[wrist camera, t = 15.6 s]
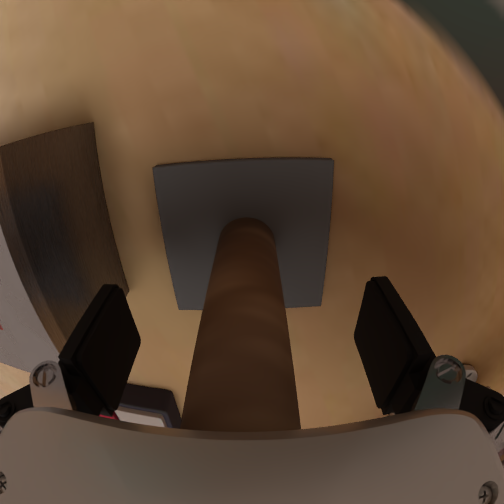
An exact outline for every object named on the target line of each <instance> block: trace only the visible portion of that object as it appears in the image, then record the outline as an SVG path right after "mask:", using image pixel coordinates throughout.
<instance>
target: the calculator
mask: <svg viewBox="0 0 504 504" xmlns="http://www.w3.org/2000/svg"><path fill="white" fill-rule="evenodd" d="M99 416H100V417H105V418H110V419H115V420H121V421H126V422H132V423H138V424H144V425H151V426H158V427H166V428H175V429H180V426H181V417H180V414H179V411H178V408H177V405H176V402H175V399H174V396H173V393H172V392H171V391H170V390H165V389H158V388H151V387H145V386H138V385H133V384H127V383H126V386H125V389H124V392H123V395H122V398H121V401H120V404H119V407H118V409H117V410H116V411H114V413H113V416H112V417H109V416H104V415H99Z"/></svg>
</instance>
